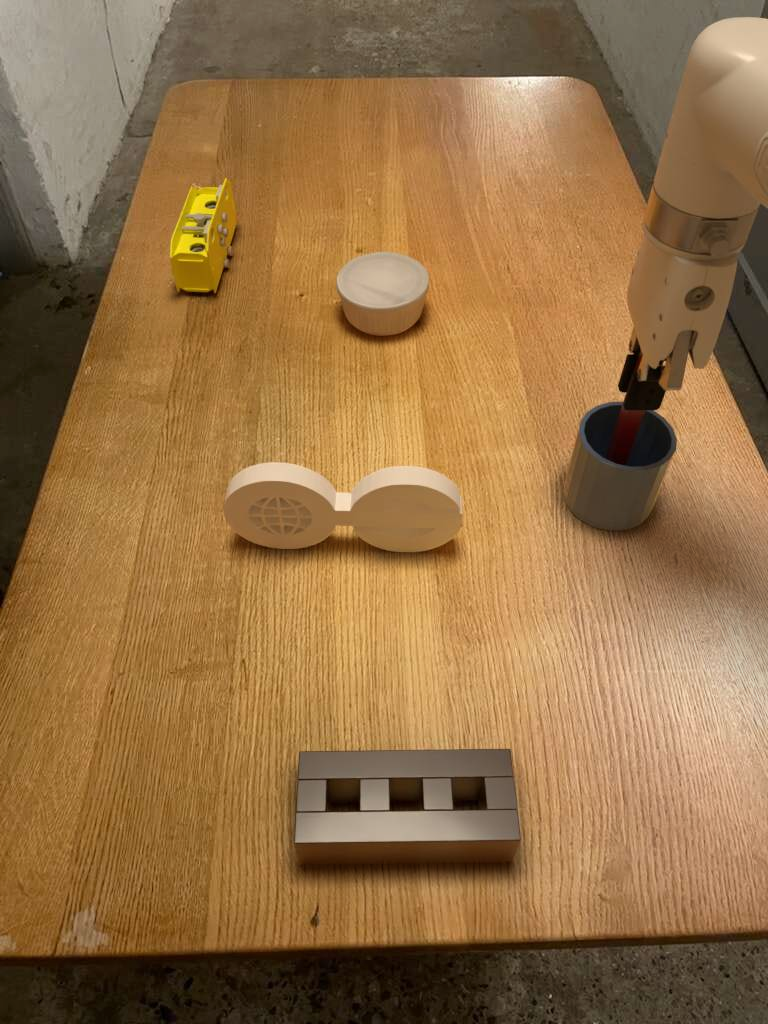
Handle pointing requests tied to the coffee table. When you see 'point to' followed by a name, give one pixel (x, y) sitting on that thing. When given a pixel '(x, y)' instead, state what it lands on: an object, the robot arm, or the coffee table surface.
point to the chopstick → (625, 431)
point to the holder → (406, 832)
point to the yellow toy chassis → (203, 238)
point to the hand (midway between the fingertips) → (638, 398)
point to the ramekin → (382, 292)
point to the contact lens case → (343, 507)
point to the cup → (617, 470)
